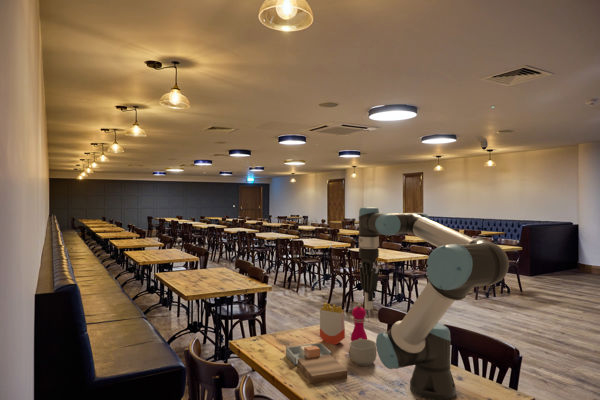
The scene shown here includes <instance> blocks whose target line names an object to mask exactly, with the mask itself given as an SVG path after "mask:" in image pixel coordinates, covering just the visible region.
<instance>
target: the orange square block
mask: <svg viewBox="0 0 600 400" xmlns="http://www.w3.org/2000/svg"><path fill="white" fill-rule="evenodd" d="M304 355H306V356H307V357H308V358H311V357H318V356H320V348H318V347H317V346H309V347H304Z"/></svg>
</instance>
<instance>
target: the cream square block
mask: <svg viewBox="0 0 600 400" xmlns="http://www.w3.org/2000/svg"><path fill="white" fill-rule="evenodd" d="M309 346H312V345H309ZM309 346H301V347H300V354H301V355H302V356H303V357H304V358H308V357H307V356H306V355H304V347H309Z"/></svg>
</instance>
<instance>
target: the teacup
mask: <svg viewBox="0 0 600 400" xmlns="http://www.w3.org/2000/svg"><path fill="white" fill-rule="evenodd" d="M348 346H349V353H350V358H351V361H352V362H354V363H355V364H356V365H357V366H362V367H363V366H364V367H367V366H370V365H372V364H373V363H374V362H375V361H376V360H377V359H376V358H377V347H376V341H374V340H371V339H368V338H367V339H362V338H359V339H358V340H354V341H350V342H349V345H348Z"/></svg>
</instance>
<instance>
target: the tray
mask: <svg viewBox="0 0 600 400" xmlns="http://www.w3.org/2000/svg"><path fill="white" fill-rule="evenodd" d="M309 345H312V346H317V347H318V348H320V356H323V355H331V356H332V357H333V353H332V351H331V350H329V349H328V348H327V347H326V346H325V345H324V344H323V343H322V342H317V343H309V344H302V345H294V346H293V345H292V346H286V347H285V357H287V358H288V360H289V361H290V362H291V363H292V364H293V366H294V367H298V359H301V358H304V357H303V356H302V355H301V354H300V347H301V346H309Z"/></svg>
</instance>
